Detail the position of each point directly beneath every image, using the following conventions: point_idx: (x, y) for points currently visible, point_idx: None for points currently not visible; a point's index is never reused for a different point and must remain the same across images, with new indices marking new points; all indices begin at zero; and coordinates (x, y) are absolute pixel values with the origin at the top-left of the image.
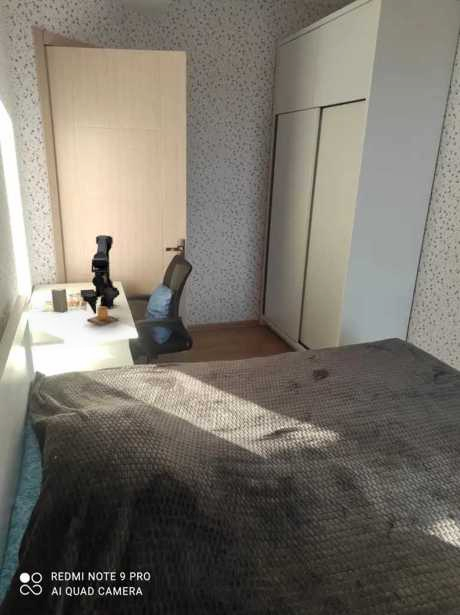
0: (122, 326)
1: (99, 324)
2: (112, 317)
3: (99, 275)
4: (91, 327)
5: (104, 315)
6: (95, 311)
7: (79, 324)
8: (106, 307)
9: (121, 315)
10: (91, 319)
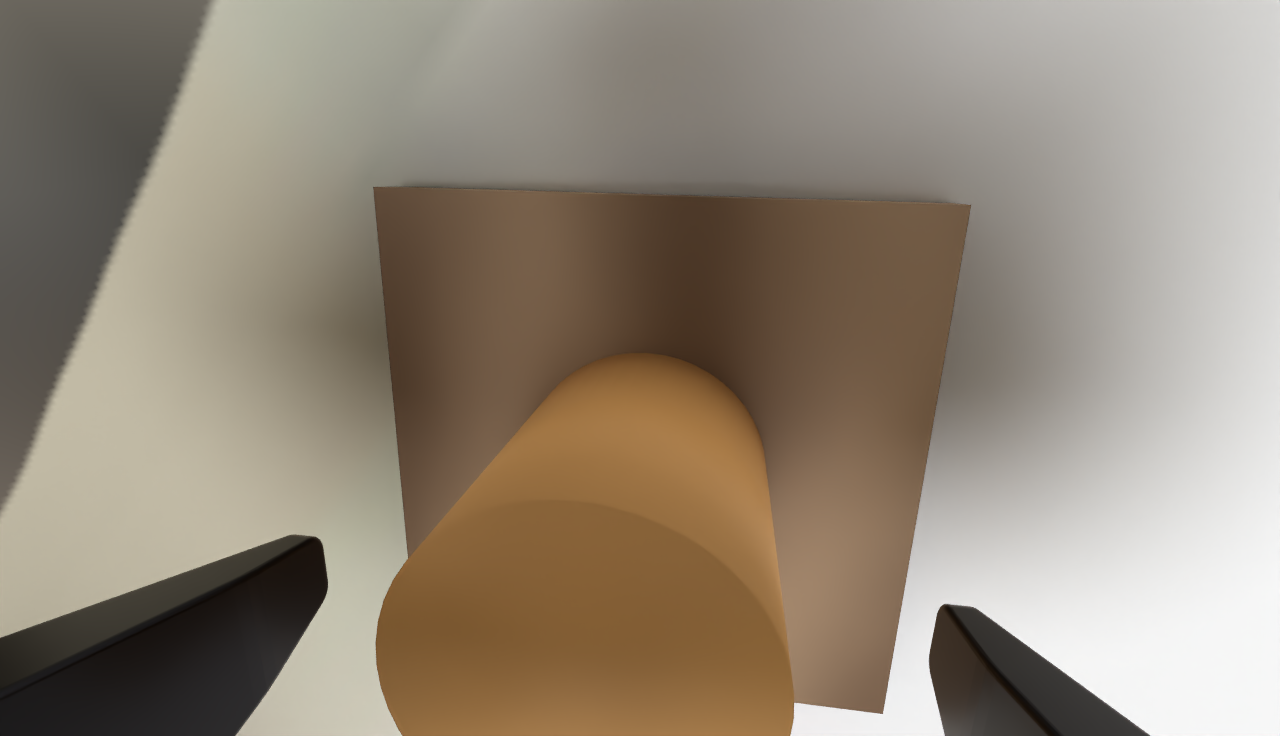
0: None
1: (950, 278)
2: (423, 371)
3: None
4: (1166, 329)
5: (674, 409)
6: (1023, 657)
7: (1142, 667)
8: (419, 607)
9: (173, 389)
10: (839, 634)
